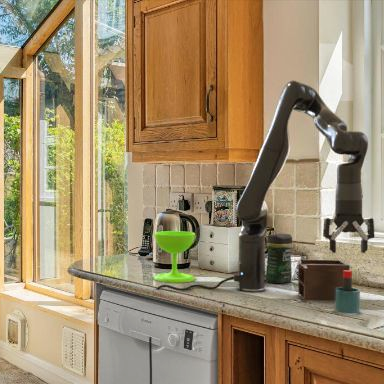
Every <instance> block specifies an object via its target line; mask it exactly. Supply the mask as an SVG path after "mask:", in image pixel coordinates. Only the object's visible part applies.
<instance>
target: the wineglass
mask: <svg viewBox="0 0 384 384" xmlns="http://www.w3.org/2000/svg"><path fill="white" fill-rule="evenodd" d="M153 234H154V239H155V242H156V244H157V246H158V247H159V248H160V249H161V250H163V251H164V252H166V253H168V254H171V270H170V271H169V272H163V273H158V274H156V275H155V276H154V277H153V279H154V280H155V281H158V282H162V283H172V284H173V283H175V284H178V283H179V284H180V283H189V282H194V281H195V280H196V279H195V276H193V275H192V274H189V273H183V272H179V270H178V254H182V253H184V252H186V251H187V250H189V249H190V248H191V246H192V245H193V244H194V241H195V237H196V233H195V232H192V231H184V230H183V231H181V230H166V231H163V230H162V231H156V232H154V233H153Z"/></svg>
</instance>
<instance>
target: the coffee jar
mask: <svg viewBox="0 0 384 384" xmlns="http://www.w3.org/2000/svg"><path fill="white" fill-rule="evenodd" d="M266 246H267V258H266V259H267V262H266V270H265V280H266V282H268V283H271V284H286V283H290V282H292V279H293V274H292V247H293V237H292V235H291V234H289V233H282V232H278V233H269V235H267V237H266Z"/></svg>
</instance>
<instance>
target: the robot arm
mask: <svg viewBox="0 0 384 384" xmlns="http://www.w3.org/2000/svg"><path fill="white" fill-rule="evenodd" d="M293 111H295V112H299V113H303V114H305V115H307V116H309V117H311V119H313V124H314V126H315V128H316V129H317V130H318V132H320V134H322V135H323V137H325V139H326V141H327V144H328V146H329V149H330V150H331V151H332V152H333V153H334V154H336V155H340V156H348V158H347V161H346V162H342V163H339V164H338V165H337V167H336V179H335V181H336V184H335V195H334V196H335V197H334V198H335V203H334V204H335V205H334V207H335V208H334V210H335V212H334V213H335V214H334V218H332V217H331V218H330V217H324V218H323V229H322V231H323V232H322V236H323V238H325V239H328V240H329V251H330V252H331V253H333V254H336V252H337V240H336V239H337V237H338V236H339V235H340V234H341V233H357V234H358V235H359V237H360V238H361V240H360V253H362V254H366V252H367V251H368V242H369V240H371V239H374V238H375V221H374V218H372V217H367V218H364V217H363V198H364V194H363V184H362V178H363V175H362V170H363V166H364V163H365V159H366V156H367V152H368V148H369V140H368V137H367V135H366V134H365V133H364V132H363V131H359V130H358V131H357V130H355V131H353V130H352V131H351V130H348V126H347V124H346V122H345V121H344V120H342V119H341V117H339V116H338V115H337V114H336V113H334V112H333V111H332V110H331V108H329V107H328V106H327V104H326V103H325V101H324V100H323V99H322V97H321V96H320V94H319V93H318V91H317V90H316V89H315V88H314V87H312V86H310V85H309V84H305V83H302V82H300V81H297V80H290V81H288V82H287V83H286V84H285V85H284V87H283V89H282V91H281V93H280V96H279V99H278V102H277V106H276V109H275V112H274V116H273V119H272V121H271V124H270V127H269V130H268V132H267V134H266V138H265V139H264V142H263V144H262V146H261V148H260V151H259V153H258V156H257V159H256V162H255V165H254V167H253V170H252V173H251V175H250V179H249V181H248V183H247V185H246V187H245V189H244V191H243V193H242V194H241V197H240V198H239V199H238V202H237V204H236V211H235V212H236V216H237V218H238V220H239V221H241V222H242V223H241V229H240V232H239V233H238V262H237V272H235V273H233V276H231V277H228V278H225V279H223V280H221V281H220V282H218V283H217V284H216V285H215V286H206V285H203V284H190V285H189V286H187V287H181V288H180V287H175V286H172V285H169V284H161V285H159V286H157V287H156V290H157V291H158V290H160V289H162V288H168V289H172V290H174V291H180V292H184V291H188V290H191V289H192V288H203V289H207V290H215V289H218V288H219V287H221V285H222V284H224V283H225V282H229V281H232V280H233V282H235V283H237V289H238V291H241V292H250V293H251V292H263V291H265V290H266V283H267V280H266V235H267V233H268V217H269V215H268V214H269V213H268V212H269V211H268V205H267V203H266V201H265V199H266V196H267V194H268V191H269V189H270V188H271V186H272V185H273V183H274V182H275V180H276V179H277V177H278V176H279V174H280V173H281V172H282V170H283V168H284V166H285V164H286V161H287V159H288V157H289V154H290V151H291V140H290V133H289V132H290V131H289V123H290V119H291V116H292V113H293ZM333 223H334V224H335V228H334V229H333V230H332V232H331V234H330V227H331V226H332V225H333ZM363 224H365V225H366V228H367V229H366V230H367V234H366V232H365V231H364V230H363V229H362V227H361V226H362V225H363ZM148 347H149V349H148V350H149V351H148V352H149V354H148V355H149V384H153V355H152V353H153V352H152V336H148Z"/></svg>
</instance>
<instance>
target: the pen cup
mask: <svg viewBox="0 0 384 384" xmlns="http://www.w3.org/2000/svg"><path fill="white" fill-rule="evenodd" d="M334 311H335V312H337V313H341V314H352V315H353V314H354V315H355V314H359V313H360V312H361V290H360V289H359V288H356V287H352V292H351V291H343V287H338V288H335V301H334Z"/></svg>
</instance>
